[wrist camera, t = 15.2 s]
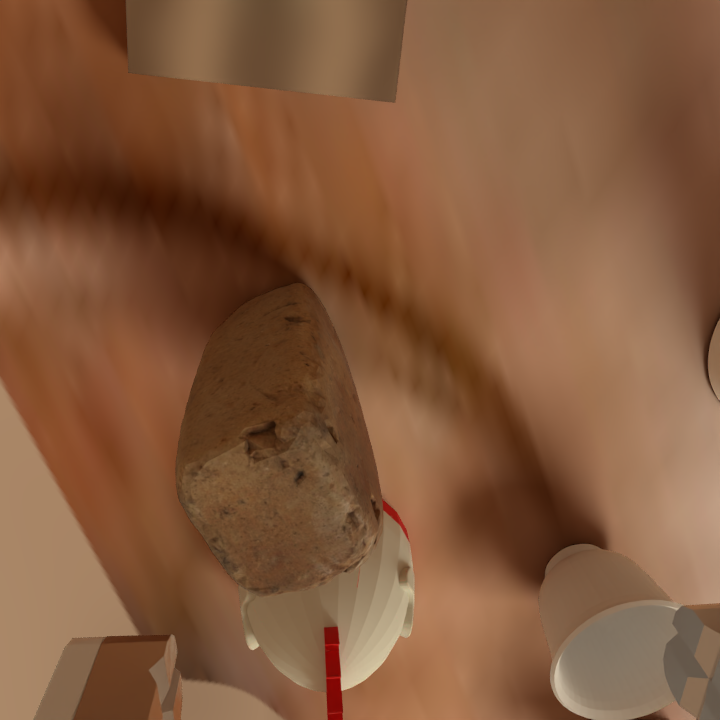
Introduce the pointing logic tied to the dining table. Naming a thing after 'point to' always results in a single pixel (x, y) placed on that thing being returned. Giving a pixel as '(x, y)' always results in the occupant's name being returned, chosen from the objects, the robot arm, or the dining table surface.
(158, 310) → the dining table surface
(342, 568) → the block
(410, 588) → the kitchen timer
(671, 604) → the teacup
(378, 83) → the walnut base block
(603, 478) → the dining table surface
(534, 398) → the dining table surface
